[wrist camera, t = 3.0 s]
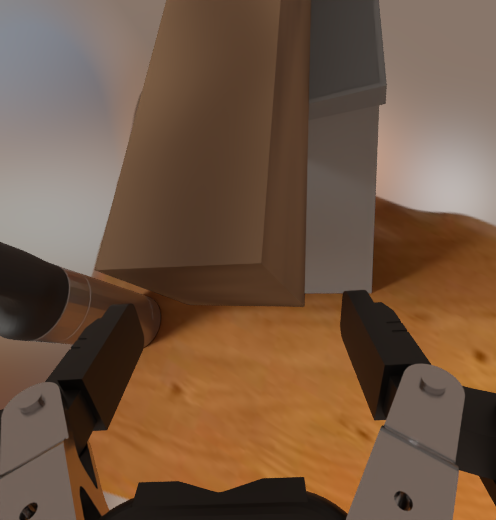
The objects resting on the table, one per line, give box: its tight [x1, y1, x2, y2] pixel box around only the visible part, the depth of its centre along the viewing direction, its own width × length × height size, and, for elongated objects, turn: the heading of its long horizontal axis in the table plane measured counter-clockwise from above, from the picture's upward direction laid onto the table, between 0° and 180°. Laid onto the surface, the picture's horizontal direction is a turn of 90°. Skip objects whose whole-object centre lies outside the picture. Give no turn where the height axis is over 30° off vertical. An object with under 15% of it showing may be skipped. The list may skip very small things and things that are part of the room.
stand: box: [305, 0, 387, 293], centre depth 27 cm, size 9×9×32 cm
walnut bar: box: [95, 0, 311, 307], centre depth 11 cm, size 4×20×4 cm, turn 175°
